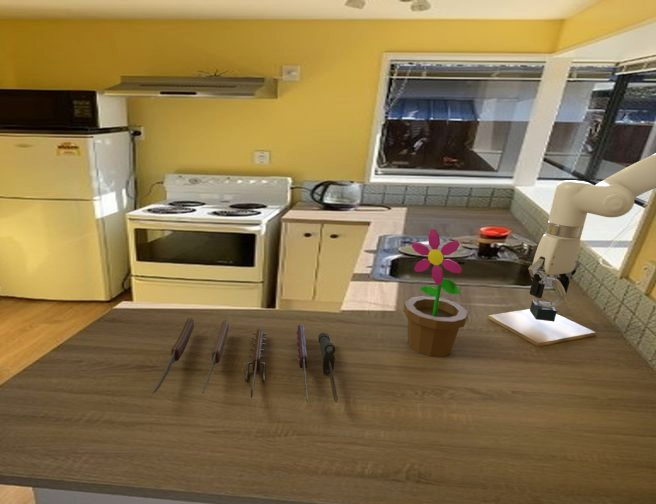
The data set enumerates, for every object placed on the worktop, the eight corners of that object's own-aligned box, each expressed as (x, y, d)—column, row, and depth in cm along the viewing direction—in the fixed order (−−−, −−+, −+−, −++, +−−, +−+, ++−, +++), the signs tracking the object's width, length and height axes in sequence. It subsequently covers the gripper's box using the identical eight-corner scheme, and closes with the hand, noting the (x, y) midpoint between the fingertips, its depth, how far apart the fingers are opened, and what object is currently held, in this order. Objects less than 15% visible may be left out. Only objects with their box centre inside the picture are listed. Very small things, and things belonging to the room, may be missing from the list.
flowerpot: (388, 343, 105) (402, 225, 95) (418, 326, 114) (434, 217, 104) (442, 369, 95) (465, 240, 85) (471, 347, 104) (494, 229, 94)
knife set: (148, 417, 76) (146, 379, 74) (188, 334, 107) (188, 306, 105) (344, 429, 75) (348, 391, 73) (326, 342, 107) (329, 314, 105)
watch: (562, 322, 111) (573, 283, 107) (528, 318, 113) (537, 280, 109) (554, 313, 116) (564, 276, 113) (522, 309, 118) (531, 272, 114)
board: (541, 310, 126) (541, 306, 125) (595, 335, 111) (596, 332, 111) (487, 318, 120) (488, 315, 119) (537, 346, 105) (538, 343, 105)
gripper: (574, 225, 113) (558, 285, 118) (524, 228, 108) (510, 292, 113) (603, 232, 106) (585, 296, 112) (551, 236, 101) (535, 303, 106)
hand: (547, 294), depth 112 cm, fingers closed on watch, 8 cm apart
